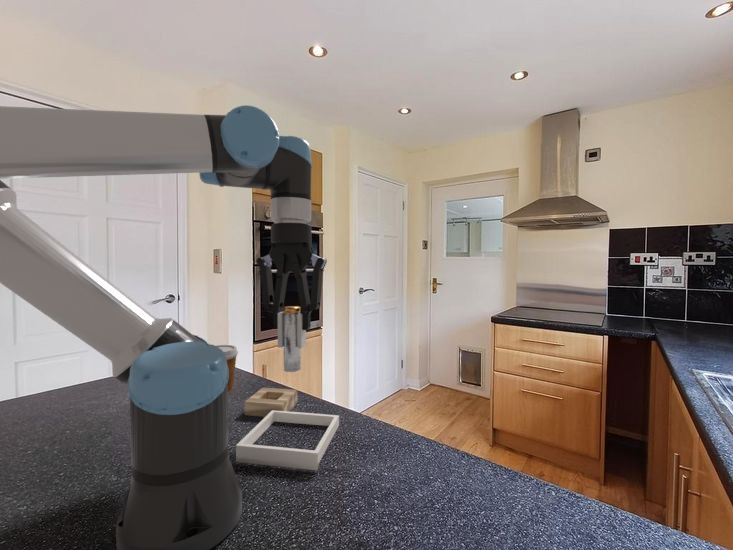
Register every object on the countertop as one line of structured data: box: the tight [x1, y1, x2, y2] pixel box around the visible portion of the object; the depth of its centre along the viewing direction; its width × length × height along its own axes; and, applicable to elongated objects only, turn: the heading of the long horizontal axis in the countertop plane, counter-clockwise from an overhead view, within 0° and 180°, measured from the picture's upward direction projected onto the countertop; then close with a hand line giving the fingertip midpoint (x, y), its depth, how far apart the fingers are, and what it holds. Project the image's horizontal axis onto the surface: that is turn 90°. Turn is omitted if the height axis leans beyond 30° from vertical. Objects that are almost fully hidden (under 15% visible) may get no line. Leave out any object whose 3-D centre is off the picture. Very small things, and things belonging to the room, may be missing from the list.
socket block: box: [244, 387, 298, 418], centre depth 84 cm, size 9×9×4 cm
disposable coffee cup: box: [215, 344, 239, 392], centre depth 96 cm, size 10×10×12 cm
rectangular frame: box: [235, 410, 340, 471], centre depth 69 cm, size 15×15×3 cm
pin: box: [282, 305, 302, 373], centre depth 68 cm, size 3×3×12 cm
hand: (292, 346), depth 69 cm, fingers closed on pin, 3 cm apart
